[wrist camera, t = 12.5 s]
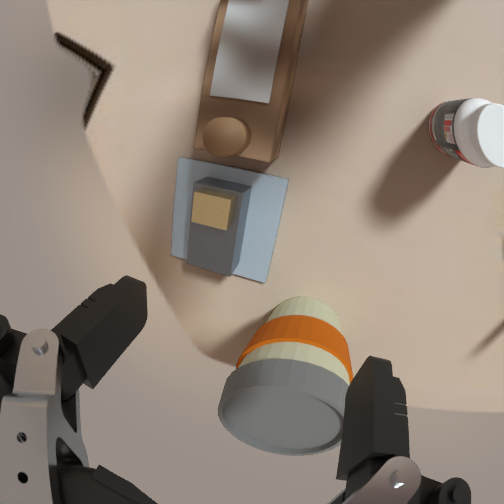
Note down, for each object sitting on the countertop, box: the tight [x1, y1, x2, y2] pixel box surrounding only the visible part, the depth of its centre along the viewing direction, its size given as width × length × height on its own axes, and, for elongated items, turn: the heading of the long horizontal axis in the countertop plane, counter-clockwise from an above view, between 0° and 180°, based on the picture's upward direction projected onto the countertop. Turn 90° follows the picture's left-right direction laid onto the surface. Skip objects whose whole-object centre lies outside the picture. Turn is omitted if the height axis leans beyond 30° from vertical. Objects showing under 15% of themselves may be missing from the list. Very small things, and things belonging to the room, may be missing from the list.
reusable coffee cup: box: [218, 297, 353, 456], centre depth 29 cm, size 13×13×15 cm
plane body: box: [194, 0, 308, 162], centre depth 20 cm, size 20×7×8 cm, turn 170°
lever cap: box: [187, 177, 252, 277], centre depth 30 cm, size 9×5×4 cm, turn 170°
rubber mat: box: [171, 157, 289, 283], centre depth 32 cm, size 12×12×1 cm
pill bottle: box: [429, 98, 504, 168], centre depth 17 cm, size 6×6×10 cm
